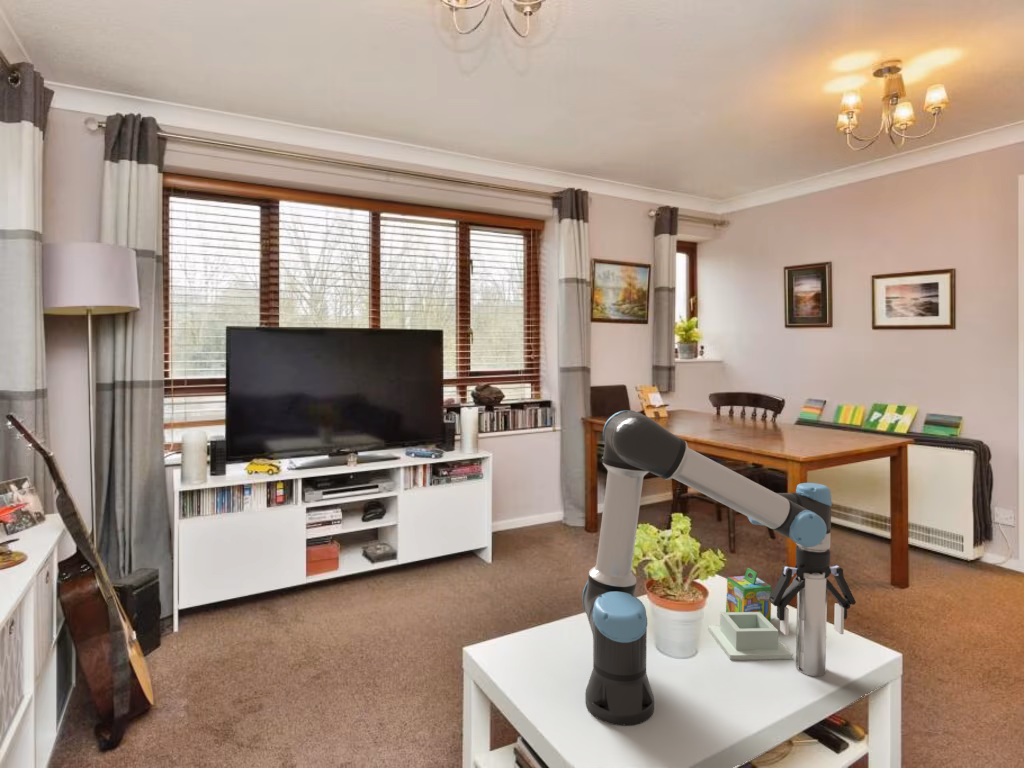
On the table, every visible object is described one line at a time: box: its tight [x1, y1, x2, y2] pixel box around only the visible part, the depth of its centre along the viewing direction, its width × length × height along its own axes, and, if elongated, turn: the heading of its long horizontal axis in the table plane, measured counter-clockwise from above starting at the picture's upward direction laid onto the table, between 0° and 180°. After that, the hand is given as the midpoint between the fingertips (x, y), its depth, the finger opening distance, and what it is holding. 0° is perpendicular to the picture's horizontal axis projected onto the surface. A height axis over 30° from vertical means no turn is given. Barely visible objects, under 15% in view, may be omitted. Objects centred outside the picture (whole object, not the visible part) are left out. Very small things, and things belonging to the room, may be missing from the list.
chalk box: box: [725, 567, 773, 624], centre depth 169 cm, size 9×9×15 cm
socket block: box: [707, 611, 793, 661], centre depth 155 cm, size 16×16×6 cm
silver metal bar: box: [795, 573, 828, 677], centre depth 142 cm, size 6×6×25 cm
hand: (811, 632), depth 142 cm, fingers open, 13 cm apart
